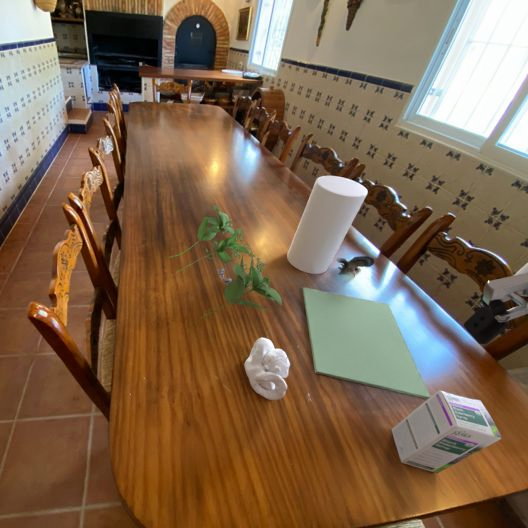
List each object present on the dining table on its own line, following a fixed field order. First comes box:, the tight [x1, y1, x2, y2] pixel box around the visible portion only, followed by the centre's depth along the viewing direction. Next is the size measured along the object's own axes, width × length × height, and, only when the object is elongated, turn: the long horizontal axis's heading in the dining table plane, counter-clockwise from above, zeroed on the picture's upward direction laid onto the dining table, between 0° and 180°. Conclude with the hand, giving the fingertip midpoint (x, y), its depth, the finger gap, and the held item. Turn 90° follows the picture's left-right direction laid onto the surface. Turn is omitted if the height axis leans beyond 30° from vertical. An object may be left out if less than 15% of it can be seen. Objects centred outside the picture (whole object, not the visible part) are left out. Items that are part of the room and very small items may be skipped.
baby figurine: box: [243, 337, 291, 401], centre depth 59 cm, size 9×12×8 cm
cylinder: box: [286, 175, 368, 275], centre depth 84 cm, size 12×12×25 cm
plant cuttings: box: [168, 205, 283, 326], centre depth 74 cm, size 35×17×22 cm
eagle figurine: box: [336, 255, 375, 278], centre depth 87 cm, size 8×7×9 cm
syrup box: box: [391, 389, 502, 474], centre depth 47 cm, size 6×6×14 cm
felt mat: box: [302, 286, 431, 400], centre depth 70 cm, size 22×26×1 cm
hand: (511, 337), depth 38 cm, fingers open, 9 cm apart
